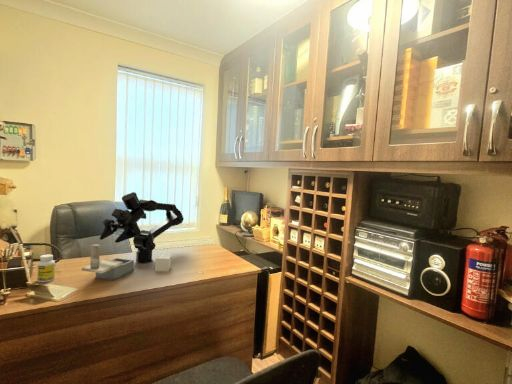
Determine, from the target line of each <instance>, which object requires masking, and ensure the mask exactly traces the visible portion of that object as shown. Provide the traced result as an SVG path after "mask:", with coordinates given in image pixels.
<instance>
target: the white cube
mask: <svg viewBox="0 0 512 384" xmlns="http://www.w3.org/2000/svg"><path fill="white" fill-rule="evenodd" d="M154 263H155V268H154V272H169V271H170V270H169V269H171V268H170V267H172V254H157V256H156V258H155V262H154Z"/></svg>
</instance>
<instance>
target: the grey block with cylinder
mask: <svg viewBox="0 0 512 384" xmlns="http://www.w3.org/2000/svg"><path fill="white" fill-rule="evenodd" d="M100 252H101V245H100V244H96V243H95V244H91V245H90V264H89V265H86V266H83V267H81V271H84V272H91V273H95V274H96V273H104V272H106V271H109V270H111V269H113V268H115V267H118V266H120V265H122V264H123V262H121V261H114V260H112V259H107V258H106V259H102V260H100Z"/></svg>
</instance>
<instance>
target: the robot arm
mask: <svg viewBox="0 0 512 384" xmlns="http://www.w3.org/2000/svg"><path fill="white" fill-rule="evenodd" d="M121 200H122V202H123V204H124V206H125V208H126V209H120V208H119V209H118V208H114V210H113V212H112V213H111V216H112V217H114V218H115V220H114V219H107V218H106V219H105V220H104V221H102V224H103V226H104V229H103V231H102V233H101V235H100V237H99V240H100V241H102V240H104V239H106V238H108V237H110V236H111V235H113V234H115V233H116V232H117V230H121V231H122V232H121V234H120V235H119V236H118V237H117V238H116V239H115V241H114V243H115V244H118V243H120V242H124V241H126V240H130V239H133V241H132V242H133V246H134V249H137V251H136V253H135V255H136V256H135V260H136V262H138V263H139V264H143V263H152V262H153V261H154V259H153V250H155V248H156V246H157V245H156V243H155V242H154V241H155V239H156V238H157V237H159V236H160V235H161V234H163V233H165V232H166V231H167V230H168V229H171V228H172V227H175V226H178V225H181V224H182V223H183V222H184V215H183V213H182V211H180V210H179V208H178V207H177V205H176V204H173V203H162V202H157V201H155V200H153V199H145V198H141V199H139V198H138V196H137V193H136V192H134V191H133V192H131V193H127V194H125V195H123V196H122V197H121ZM154 211H165V216H166V218H165V220H164V221H162V222H160V223H159V224H157V225H155V226H154V227H153V228H151V229H149V230H144V229H142V230H141V229H140V227H139V225H138V222H139V221H140V220H141V219H144V220H147V213H145V212H154ZM115 221H116V222H117V223H116V222H115Z"/></svg>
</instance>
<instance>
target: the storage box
mask: <svg viewBox="0 0 512 384" xmlns="http://www.w3.org/2000/svg"><path fill="white" fill-rule="evenodd" d="M111 260H114V261H121V262H123V264H122V265H120V266H118V267H115V268H113V269H111V270H109V271H106V272H104V273H95V278H97V279H102V280H107V281H117V280H119V279H120V278H123V277H124V276H126V275H129V274H130V273H132V272H134V269H135V268H134V267H135V260H134V259H126V258H120V257H115V258H112V259H111Z"/></svg>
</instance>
